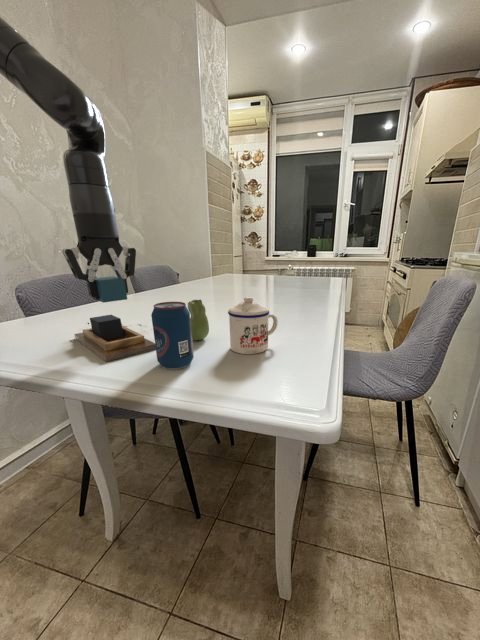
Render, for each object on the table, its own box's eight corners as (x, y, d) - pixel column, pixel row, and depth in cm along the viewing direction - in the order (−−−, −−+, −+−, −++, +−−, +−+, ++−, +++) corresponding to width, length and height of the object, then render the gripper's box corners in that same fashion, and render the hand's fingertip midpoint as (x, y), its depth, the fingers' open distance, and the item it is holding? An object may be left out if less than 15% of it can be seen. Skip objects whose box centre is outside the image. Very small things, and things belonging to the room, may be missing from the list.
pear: (212, 340, 72) (210, 300, 68) (191, 344, 69) (187, 302, 66) (205, 335, 76) (202, 296, 73) (185, 338, 74) (181, 298, 70)
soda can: (151, 364, 58) (143, 304, 54) (182, 354, 63) (176, 299, 58) (169, 374, 53) (161, 310, 49) (200, 363, 58) (196, 304, 54)
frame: (106, 362, 59) (103, 349, 58) (75, 338, 73) (72, 328, 72) (157, 348, 66) (155, 337, 65) (119, 329, 81) (118, 320, 80)
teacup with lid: (240, 358, 61) (238, 303, 57) (223, 345, 68) (220, 296, 64) (287, 348, 67) (288, 297, 62) (266, 337, 74) (267, 291, 70)
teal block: (103, 302, 60) (98, 280, 59) (93, 299, 64) (89, 278, 63) (127, 299, 64) (124, 278, 62) (117, 296, 68) (113, 276, 66)
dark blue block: (101, 341, 68) (98, 322, 66) (93, 335, 72) (89, 317, 70) (123, 336, 71) (120, 318, 69) (114, 331, 75) (111, 314, 73)
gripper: (123, 215, 65) (135, 292, 71) (47, 211, 56) (68, 300, 62) (137, 213, 60) (149, 295, 66) (56, 208, 51) (78, 304, 57)
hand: (110, 297), depth 64 cm, fingers closed on teal block, 5 cm apart
